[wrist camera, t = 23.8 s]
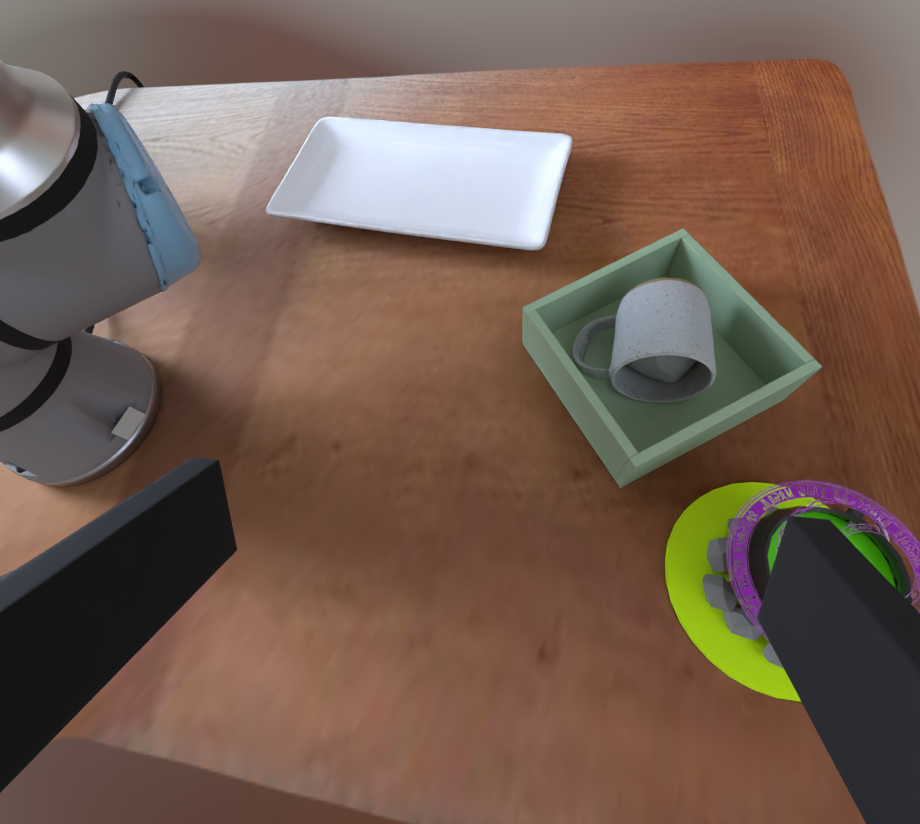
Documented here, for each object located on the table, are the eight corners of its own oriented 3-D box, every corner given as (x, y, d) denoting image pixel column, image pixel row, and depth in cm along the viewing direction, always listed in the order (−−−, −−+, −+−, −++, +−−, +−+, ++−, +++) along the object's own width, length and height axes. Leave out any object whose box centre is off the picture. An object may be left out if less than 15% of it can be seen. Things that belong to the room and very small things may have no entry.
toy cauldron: (846, 756, 30) (1009, 822, 20) (628, 608, 35) (672, 603, 25) (920, 555, 34) (1085, 527, 24) (715, 448, 39) (783, 388, 29)
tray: (328, 137, 61) (318, 111, 58) (572, 159, 54) (575, 130, 51) (275, 236, 55) (260, 212, 52) (542, 274, 48) (543, 249, 45)
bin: (522, 343, 45) (522, 307, 40) (665, 272, 47) (683, 227, 41) (620, 488, 39) (635, 467, 33) (783, 400, 40) (823, 366, 35)
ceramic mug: (694, 326, 43) (725, 268, 36) (697, 407, 40) (732, 361, 33) (574, 319, 45) (582, 263, 38) (568, 397, 42) (575, 351, 35)
